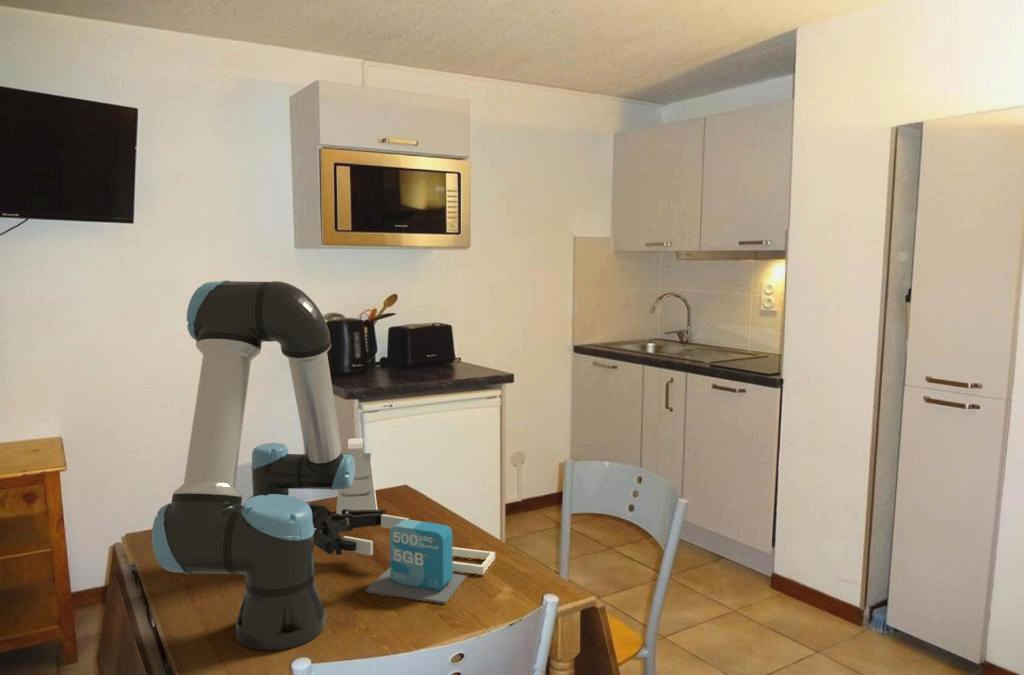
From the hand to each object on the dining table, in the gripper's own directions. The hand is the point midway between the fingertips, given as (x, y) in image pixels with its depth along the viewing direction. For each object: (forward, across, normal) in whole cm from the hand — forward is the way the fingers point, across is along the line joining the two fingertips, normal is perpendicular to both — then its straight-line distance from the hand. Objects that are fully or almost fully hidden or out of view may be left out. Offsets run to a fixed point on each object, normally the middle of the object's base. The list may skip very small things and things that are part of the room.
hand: (390, 536), depth 145 cm
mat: (+6, 0, -9) cm, 11 cm away
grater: (-28, -28, -10) cm, 41 cm away
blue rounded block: (+7, 0, -9) cm, 11 cm away
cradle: (+9, -12, -9) cm, 18 cm away
